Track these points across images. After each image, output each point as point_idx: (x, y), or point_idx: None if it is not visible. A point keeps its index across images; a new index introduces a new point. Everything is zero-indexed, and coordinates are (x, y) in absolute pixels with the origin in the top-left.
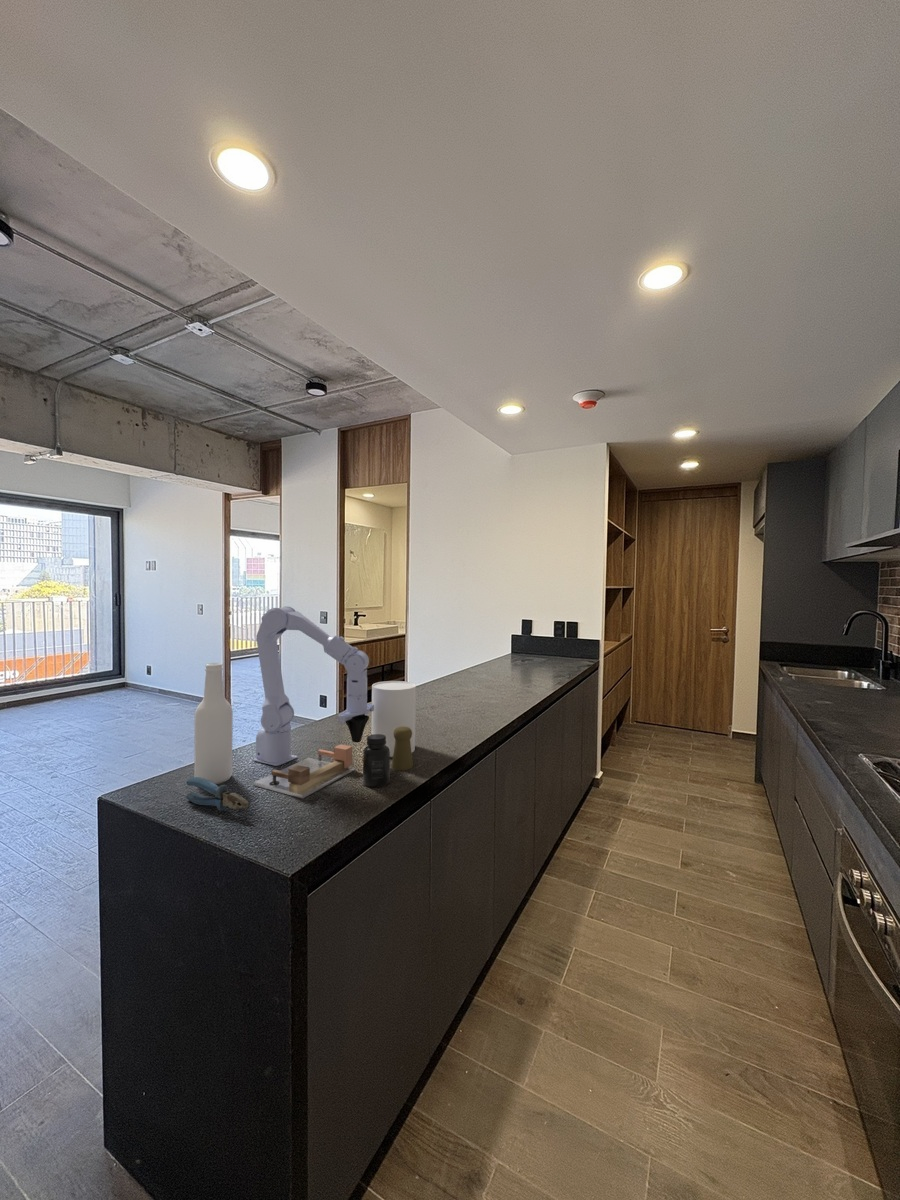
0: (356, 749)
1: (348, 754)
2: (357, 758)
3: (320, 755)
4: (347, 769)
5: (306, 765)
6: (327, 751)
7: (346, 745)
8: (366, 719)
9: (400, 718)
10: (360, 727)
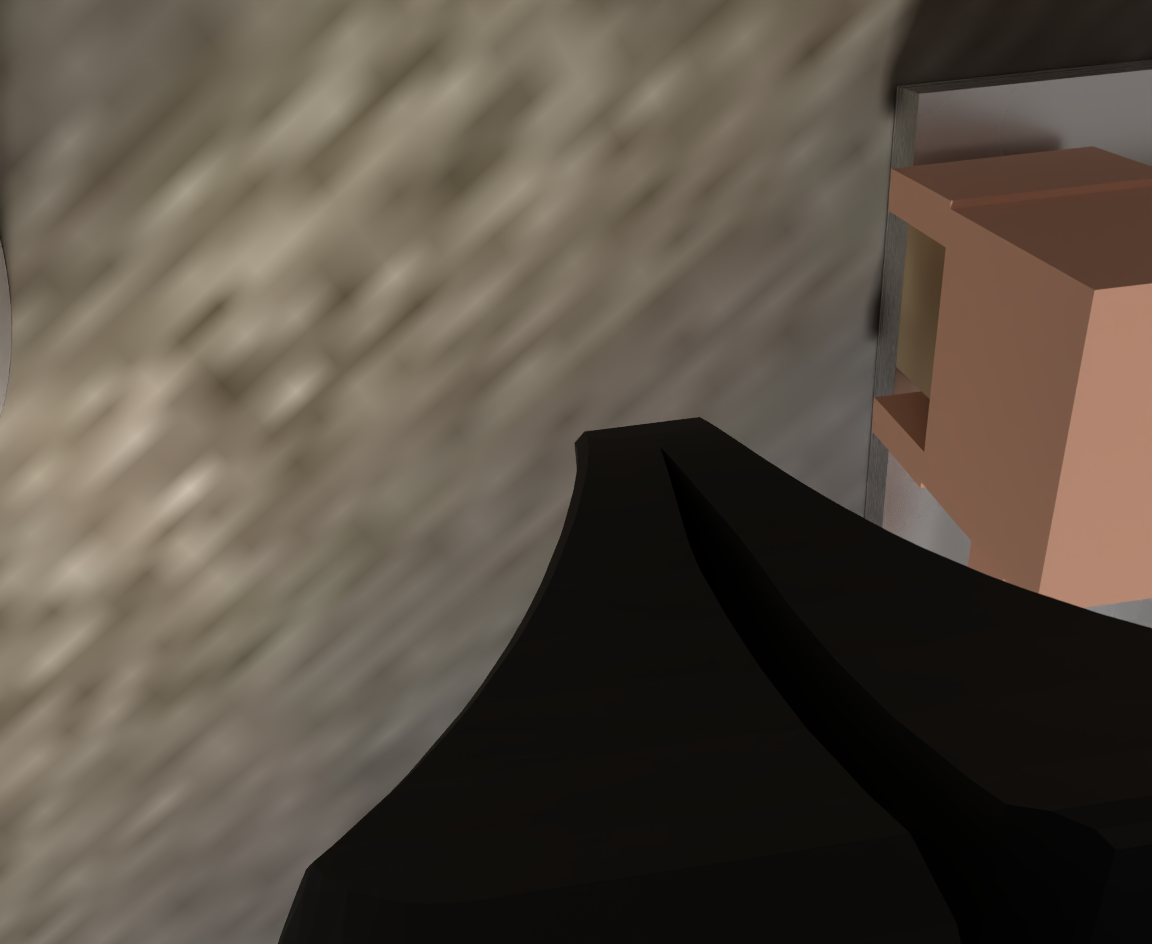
0: (117, 709)
1: (1149, 227)
2: (406, 434)
3: None
4: (1048, 127)
5: None
6: None
7: (1072, 461)
8: (676, 832)
9: None
10: (908, 611)
